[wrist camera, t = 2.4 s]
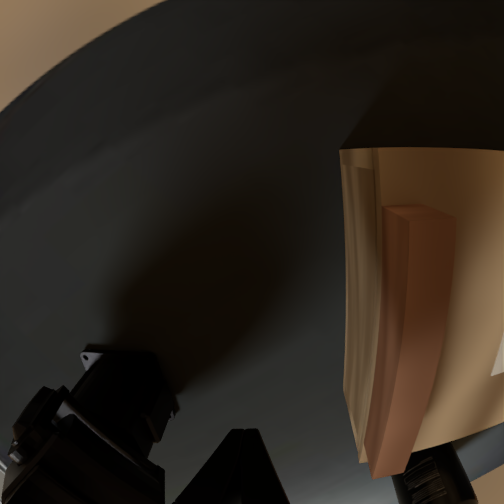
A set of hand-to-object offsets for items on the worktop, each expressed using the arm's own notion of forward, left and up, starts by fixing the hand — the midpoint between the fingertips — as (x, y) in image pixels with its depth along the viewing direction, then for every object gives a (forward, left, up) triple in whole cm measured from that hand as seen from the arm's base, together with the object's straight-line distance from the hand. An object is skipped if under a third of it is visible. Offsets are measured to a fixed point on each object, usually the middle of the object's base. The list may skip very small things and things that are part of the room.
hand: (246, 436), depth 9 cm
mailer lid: (+14, 0, -4) cm, 15 cm away
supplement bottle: (+14, -20, -11) cm, 27 cm away
